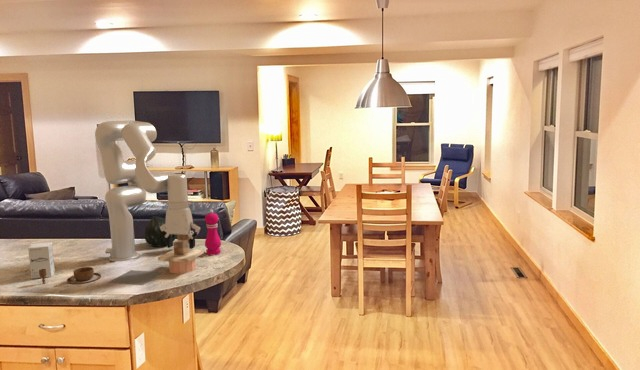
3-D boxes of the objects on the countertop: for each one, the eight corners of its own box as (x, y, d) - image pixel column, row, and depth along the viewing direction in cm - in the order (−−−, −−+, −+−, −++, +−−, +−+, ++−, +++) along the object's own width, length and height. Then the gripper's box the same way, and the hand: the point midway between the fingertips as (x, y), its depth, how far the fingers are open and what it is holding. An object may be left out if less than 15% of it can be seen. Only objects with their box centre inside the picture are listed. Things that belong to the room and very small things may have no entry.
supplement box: (30, 279, 198) (27, 247, 196) (35, 273, 205) (32, 243, 203) (51, 277, 200) (48, 246, 198) (55, 271, 207) (52, 241, 205)
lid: (158, 260, 198) (157, 244, 197) (175, 251, 211) (174, 236, 210) (188, 262, 195) (187, 246, 194) (203, 252, 208) (203, 238, 207)
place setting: (78, 291, 185) (77, 275, 184) (36, 286, 191) (35, 271, 190) (112, 276, 201) (111, 261, 200) (73, 272, 207) (71, 258, 207)
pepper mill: (217, 255, 224) (215, 211, 221) (202, 255, 226) (200, 211, 223) (224, 251, 231) (222, 208, 228) (209, 250, 233) (207, 207, 230)
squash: (186, 229, 252) (164, 208, 250) (174, 238, 237) (152, 215, 236) (166, 248, 254) (145, 226, 253) (154, 257, 240) (132, 235, 239)
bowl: (164, 274, 200) (163, 259, 199) (177, 266, 210) (176, 252, 209) (187, 275, 198) (186, 260, 197) (199, 267, 207) (199, 253, 207)
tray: (107, 284, 190) (106, 282, 190) (131, 271, 204) (130, 270, 204) (142, 286, 186) (142, 284, 186) (164, 273, 201) (164, 272, 201)
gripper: (153, 206, 198) (156, 249, 201) (193, 207, 194) (196, 251, 197) (163, 203, 206) (166, 244, 208) (202, 204, 201) (205, 245, 204)
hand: (181, 247), depth 202 cm, fingers open, 9 cm apart
